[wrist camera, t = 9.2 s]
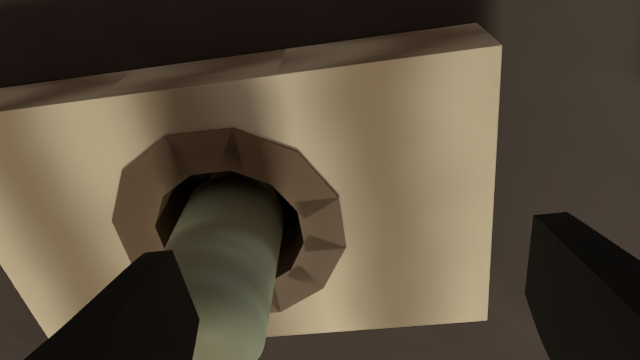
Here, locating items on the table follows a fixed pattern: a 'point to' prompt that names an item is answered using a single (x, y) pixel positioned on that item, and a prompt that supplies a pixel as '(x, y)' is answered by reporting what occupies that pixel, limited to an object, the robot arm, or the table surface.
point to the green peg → (230, 262)
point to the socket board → (269, 175)
